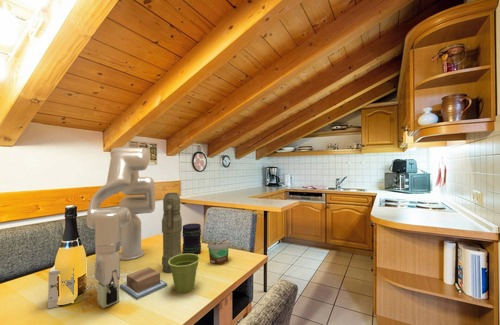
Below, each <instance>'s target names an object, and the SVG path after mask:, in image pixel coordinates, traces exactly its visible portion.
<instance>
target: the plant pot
mask: <svg viewBox="0 0 500 325" xmlns="http://www.w3.org/2000/svg"><path fill="white" fill-rule="evenodd" d="M200 260H201V257H200V255H196V254H183V253H182V254H180V255H177V256H174V257H172V258H170V259H169V261H168V264H169V265H170V268H171V270H172V273H171V276H172V280H173V288H174V290H175V292H178V293H181V294H182V293H183V294H185V293H189V292H190V291H192V290H193V289H194V288H195V283H196V276H197V269H198V264H199V261H200Z"/></svg>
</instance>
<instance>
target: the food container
mask: <svg viewBox="0 0 500 325" xmlns="http://www.w3.org/2000/svg"><path fill="white" fill-rule="evenodd" d="M230 245H231V242H230V238H227V237H226V239H224V240H219V241H216V242H214V243H209V242H207V246H206V248H207V249H208V257H209V264H210V265H215V266H216V265H224V264H225V263H226V264H227V262H228V260H229V259H228V258H229V249H230V248H229V246H230Z"/></svg>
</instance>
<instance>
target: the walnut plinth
mask: <svg viewBox="0 0 500 325" xmlns="http://www.w3.org/2000/svg"><path fill="white" fill-rule="evenodd" d="M160 280H161V272H159V271H157V270H156V269H154V268H152V267H149V266H148V267H145V268H142V269H140V270H136V271H134V272H132V273H131V272H130V273H128V274H126V282H127V286H128V287H130V288H131V289H133V290H134V291H136V292H137V293H139V292H141V291H143V290H145V289H148V288H150V287H152V286H155V285H157V284H159V283H160Z"/></svg>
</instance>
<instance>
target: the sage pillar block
mask: <svg viewBox="0 0 500 325" xmlns="http://www.w3.org/2000/svg"><path fill="white" fill-rule="evenodd" d="M112 281H113V280H111V281H110V282H112ZM111 286H113V284H110V288H111ZM107 292H108V291H107V285H106V286H105V285H103V284H101V283H100V282H99V281H98V282H97V304H98V305H99V306H100V307H101V308H102V309H105V308H108V307H110V306H112V305H115V304H116V303H118V302H120V285H119V286H118V290H117V301H116V302H113V303H111V304H109V305H107V304H106V293H107Z"/></svg>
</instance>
